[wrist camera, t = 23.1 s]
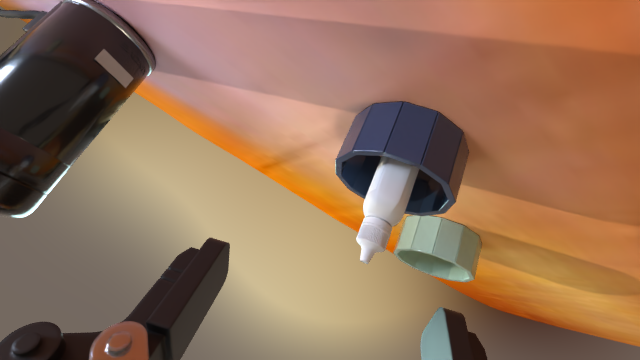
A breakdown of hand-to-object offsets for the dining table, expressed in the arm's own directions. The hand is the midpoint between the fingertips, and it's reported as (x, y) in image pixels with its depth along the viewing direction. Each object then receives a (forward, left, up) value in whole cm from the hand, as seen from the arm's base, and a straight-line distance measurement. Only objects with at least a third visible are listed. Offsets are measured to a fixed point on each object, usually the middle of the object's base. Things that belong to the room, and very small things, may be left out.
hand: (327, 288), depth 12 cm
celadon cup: (+10, -32, -16) cm, 37 cm away
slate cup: (+1, -13, -16) cm, 21 cm away
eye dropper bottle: (+1, -13, -16) cm, 21 cm away
